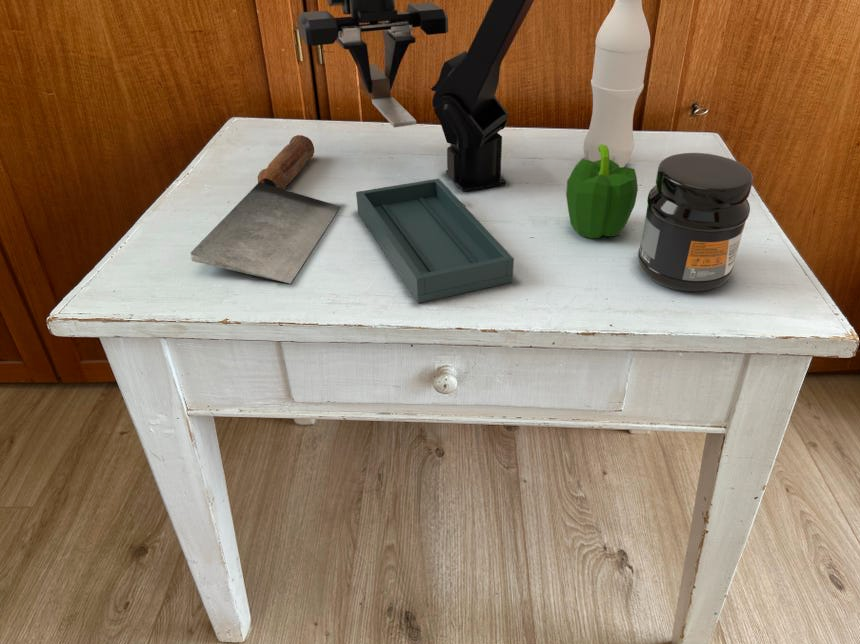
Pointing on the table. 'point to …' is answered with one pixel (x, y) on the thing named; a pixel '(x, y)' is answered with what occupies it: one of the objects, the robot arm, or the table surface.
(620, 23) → the water bottle
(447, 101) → the robot arm
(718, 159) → the supplement container
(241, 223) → the meat cleaver
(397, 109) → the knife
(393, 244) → the tray
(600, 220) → the bell pepper
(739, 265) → the table surface
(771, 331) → the table surface
